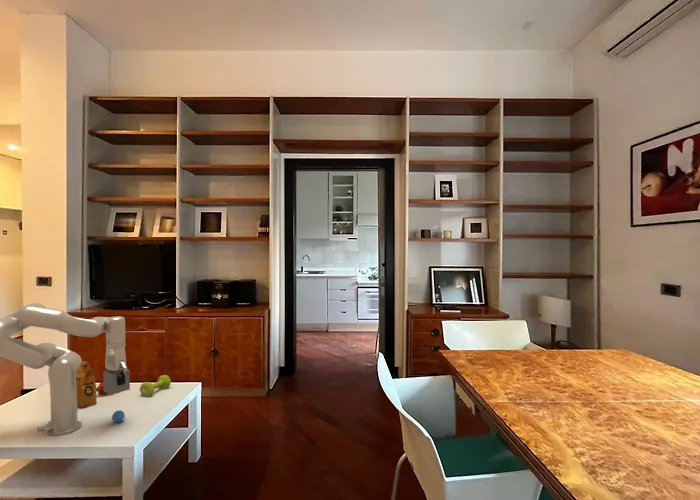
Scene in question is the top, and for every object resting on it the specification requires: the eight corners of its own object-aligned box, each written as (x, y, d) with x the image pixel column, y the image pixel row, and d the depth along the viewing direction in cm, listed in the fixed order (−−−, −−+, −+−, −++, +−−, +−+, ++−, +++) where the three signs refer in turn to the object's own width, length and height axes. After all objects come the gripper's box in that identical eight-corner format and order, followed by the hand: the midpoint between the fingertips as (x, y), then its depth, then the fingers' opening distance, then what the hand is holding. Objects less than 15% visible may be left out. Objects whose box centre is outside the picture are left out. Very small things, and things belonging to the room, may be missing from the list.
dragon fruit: (121, 393, 228) (97, 403, 219) (115, 382, 232) (91, 391, 223) (122, 384, 223) (98, 393, 215) (116, 372, 227) (92, 381, 219)
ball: (126, 409, 188) (127, 420, 188) (120, 407, 190) (121, 418, 190) (115, 414, 183) (116, 425, 183) (109, 411, 186) (110, 422, 186)
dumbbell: (149, 398, 217) (149, 384, 217) (138, 396, 219) (137, 383, 219) (172, 387, 232) (172, 375, 232) (161, 386, 235) (161, 373, 235)
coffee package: (79, 410, 201) (78, 365, 201) (66, 405, 208) (65, 361, 207) (100, 403, 210) (99, 360, 210) (87, 399, 216) (86, 357, 216)
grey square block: (112, 394, 181) (111, 374, 181) (103, 391, 186) (103, 371, 185) (129, 389, 188) (129, 370, 187) (121, 386, 192) (120, 367, 192)
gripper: (97, 343, 188) (98, 381, 188) (117, 348, 178) (117, 388, 178) (114, 340, 194) (115, 377, 194) (134, 344, 185) (135, 384, 185)
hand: (116, 382), depth 186 cm, fingers closed on grey square block, 7 cm apart
